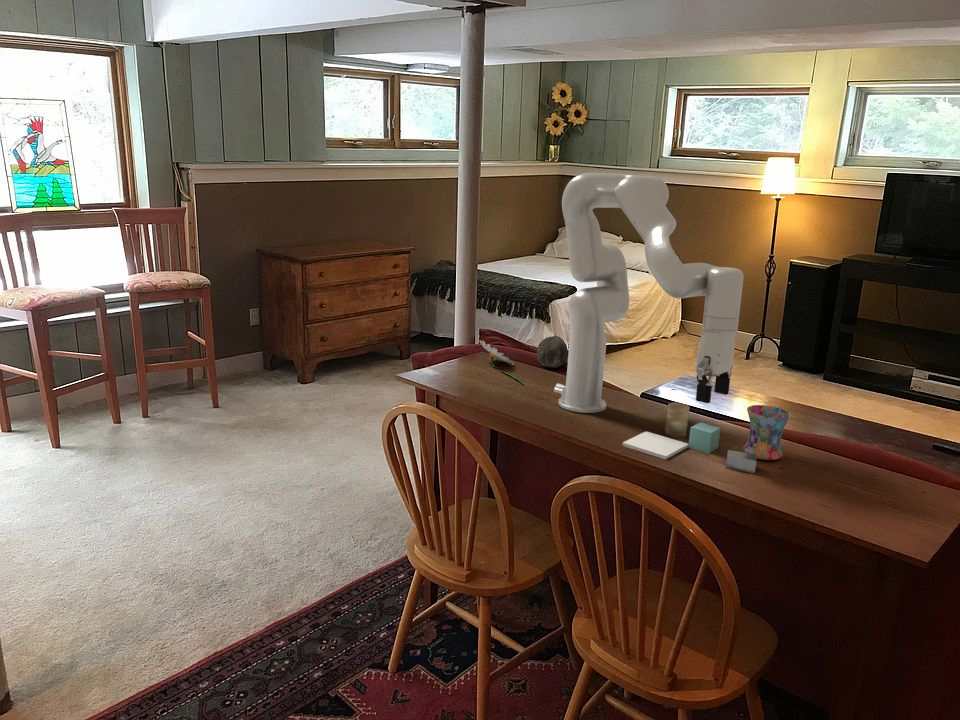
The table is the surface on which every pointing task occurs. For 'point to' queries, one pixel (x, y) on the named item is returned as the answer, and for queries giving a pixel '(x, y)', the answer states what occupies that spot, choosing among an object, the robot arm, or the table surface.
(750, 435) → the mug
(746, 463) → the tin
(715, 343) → the robot arm
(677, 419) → the cork cylinder
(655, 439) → the coaster
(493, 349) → the flower
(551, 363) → the rock
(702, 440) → the block
